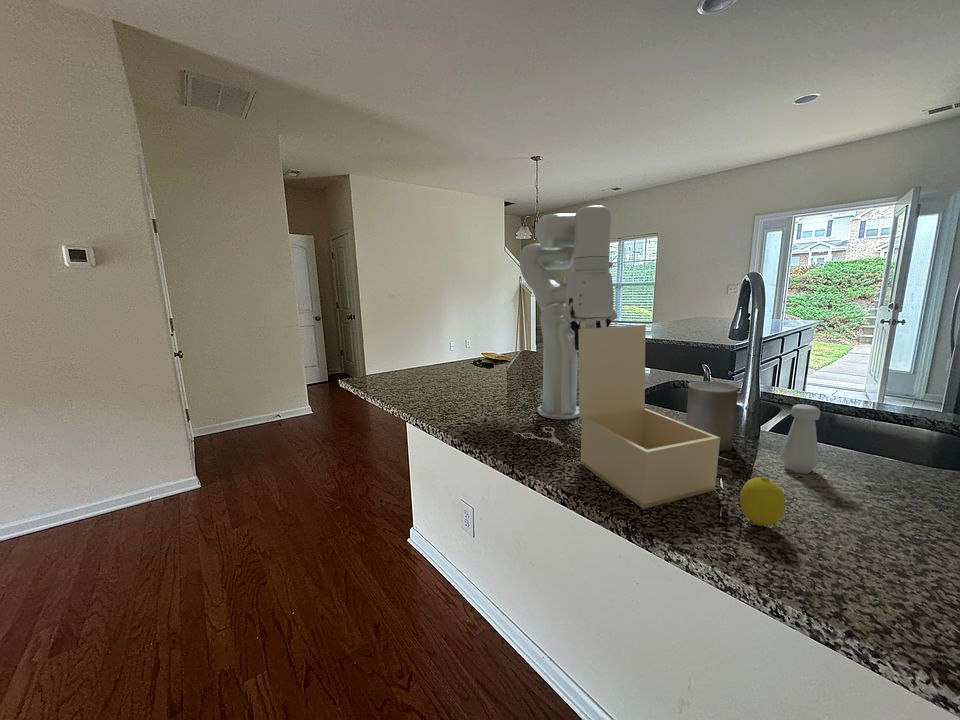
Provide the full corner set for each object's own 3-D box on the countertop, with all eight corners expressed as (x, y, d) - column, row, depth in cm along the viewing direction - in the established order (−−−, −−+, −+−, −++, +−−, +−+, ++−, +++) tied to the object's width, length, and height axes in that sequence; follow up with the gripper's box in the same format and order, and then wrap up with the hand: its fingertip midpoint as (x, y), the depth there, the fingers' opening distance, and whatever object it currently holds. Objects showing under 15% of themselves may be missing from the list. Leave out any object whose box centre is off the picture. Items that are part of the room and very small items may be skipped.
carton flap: (581, 417, 79) (560, 408, 87) (644, 408, 85) (619, 400, 92) (580, 329, 77) (559, 328, 85) (645, 325, 82) (620, 324, 90)
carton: (580, 463, 81) (581, 417, 79) (642, 451, 86) (644, 408, 85) (643, 508, 64) (646, 452, 63) (714, 490, 70) (720, 437, 68)
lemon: (766, 541, 56) (773, 490, 54) (729, 520, 61) (734, 473, 59) (790, 531, 58) (797, 481, 57) (751, 511, 63) (757, 465, 62)
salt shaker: (782, 459, 81) (790, 399, 79) (818, 468, 77) (828, 405, 74) (776, 469, 77) (785, 406, 75) (814, 479, 73) (824, 412, 70)
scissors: (545, 424, 104) (603, 449, 87) (545, 427, 104) (603, 453, 87) (512, 432, 98) (567, 461, 81) (512, 435, 98) (567, 465, 82)
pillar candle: (734, 440, 91) (740, 378, 88) (731, 455, 83) (737, 387, 81) (687, 432, 97) (692, 373, 94) (680, 446, 89) (685, 382, 86)
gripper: (611, 268, 92) (608, 345, 95) (548, 268, 86) (548, 350, 89) (634, 265, 85) (630, 349, 88) (567, 265, 79) (566, 354, 82)
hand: (589, 348), depth 88 cm, fingers closed on carton flap, 4 cm apart
